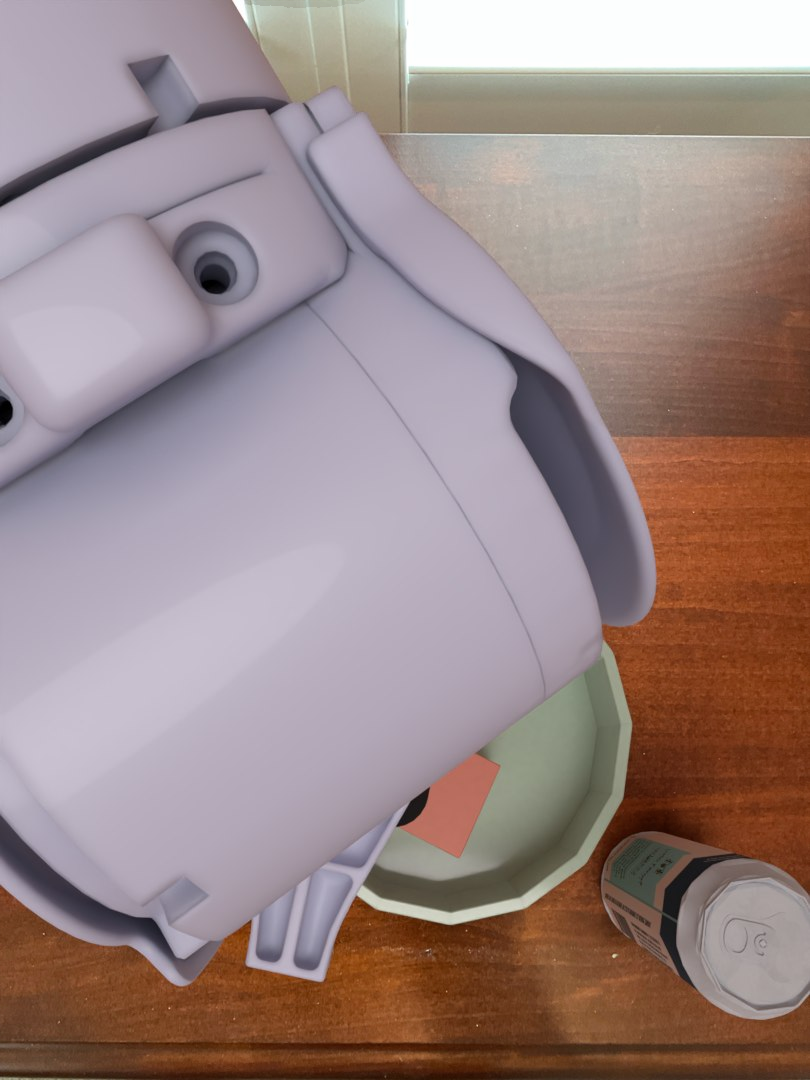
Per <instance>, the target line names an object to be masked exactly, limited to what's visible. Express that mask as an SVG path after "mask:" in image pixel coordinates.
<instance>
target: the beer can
mask: <svg viewBox="0 0 810 1080" xmlns="http://www.w3.org/2000/svg"><path fill="white" fill-rule="evenodd" d="M600 892H601V893H600V894H601V899H602V902H603V906H604V908H605V910H606V912H607V914H608V916H609V918H610V920H611V921H612V923H613V925H615V927H616V928H617V929H618V930H619V931H620V932H621V933H623V935H625V936H626V937H627V938H629V939H630V940H632V941H633V942H635V943H636V944H637V945H638V946H640V947H641V948H642V949H644V950H645V951H646V952H647V953H648V954H649V955H651V956H652V957H654V958H655V959H656V960H658V961H659V962H661V964H662V965H664V966H665V967H667V968H668V969H669V970H670V971H672V972H673V973H674V974H676V975H677V976H678V977H679V978H681V979H682V980H683V981H685V982H686V983H687V984H688V985H690V986H691V987H692V988H694V990H696V991H697V992H698V993H699V994H701V995H702V996H703V997H704V998H705V999H706V1000H707V1001H708V1002H709V1003H710V1004H712V1005H714V1006H715V1007H717V1008H718V1009H721V1010H722V1011H723V1012H724V1013H727V1014H729V1015H733V1016H735V1017H739V1018H742V1019H747V1020H757V1021H763V1020H769V1019H774V1018H778V1017H781V1016H784V1015H787V1014H789V1013H791V1012H792V1011H795V1010H796V1009H798V1008H799V1007H800V1006H801V1005H802V1003H803V1002H804V1001H806V999H807V998H808V997H809V995H810V894H809V893H808V892H807V891H806V890H805V889H804V887H803V886H802V885H801V884H800V883H799V882H798V880H796V879H795V878H794V877H793V876H791V875H790V874H789V873H788V872H786V871H784V870H783V869H782V868H779V867H777V866H776V865H775V864H772V863H768V862H766V861H763V860H760V859H757V858H753V857H749V856H747V855H743V854H739V853H735V852H732V851H728V850H725V849H722V848H718V847H715V846H711V845H708V844H705V843H702V842H701V843H700V842H697V841H693V840H690V839H686V838H683V837H680V836H677V835H673V834H669V833H666V832H662V831H653V830H651V831H641V832H638V833H634V834H631V835H629V836H627V837H626V838H624V839H622V840H621V841H620V842H619V843H618V844H617V845H616V846H615V847H614V848H613V849H611V851H610V853H609V855H608V856H607V858H606V860H605V862H604V865H603V869H602V872H601V880H600Z"/></svg>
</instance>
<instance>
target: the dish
mask: <svg viewBox="0 0 810 1080" xmlns="http://www.w3.org/2000/svg"><path fill="white" fill-rule="evenodd" d="M632 732H633V720H632V716H631V713H630V708H629V704H628V701H627V698H626V693H625V690H624V686H623V682H622V679H621V675H620V671H619V666H618V663H617V660H616V656H615V654H614V651H613V650H612V649H611V647H610V646H609V644H608V642H606V640H605V639H604V638H603V645H602V652H601V654H600V657H599V659H598V661H597V662H596V663H595V664H594V665H593V666H592V667H590V668H589V669H588V670H586V671H585V672H584V673H582V674H581V675H580V676H578V677H577V678H576V679H574V680H573V681H572V682H570V683H569V684H568V685H566V686H565V687H564V688H562V689H561V690H560V691H558V692H557V693H556V694H554V695H553V696H552V697H550V698H549V699H548V700H546V701H545V702H544V703H542V704H541V705H539V706H538V707H536V708H535V709H534V710H532V711H531V712H530V713H528V714H527V715H526V716H524V717H523V718H522V719H520V720H519V721H518V722H516V723H515V724H514V725H512V726H511V727H510V728H508V729H507V730H505V731H504V732H503V733H501V734H500V735H499V736H497V737H496V738H495V739H493V740H492V741H491V742H489V743H488V744H487V745H485V746H484V747H483V748H481V749H480V750H479V751H477V752H476V753H477V754H479V755H481V756H483V757H485V758H487V759H489V760H490V761H492V762H494V763H496V764H498V765H500V769H499V771H498V774H497V776H496V778H495V780H494V783H493V785H492V787H491V789H490V792H489V794H488V796H487V798H486V801H485V803H484V805H483V807H482V810H481V812H480V814H479V816H478V819H477V821H476V823H475V825H474V828H473V830H472V832H471V834H470V837H469V839H468V841H467V843H466V846H465V848H464V850H463V852H462V855H461V857H460V858H457V857H455V856H453V855H451V854H449V853H447V852H445V851H443V850H441V849H439V848H437V847H435V846H434V845H432V844H430V843H428V842H426V841H424V840H422V839H420V838H418V837H416V836H414V835H412V834H410V833H408V832H406V831H404V830H403V829H401V828H399V827H395V829H394V831H393V832H392V834H391V836H390V838H389V839H388V841H387V843H386V845H385V846H384V848H383V850H382V851H381V853H380V855H379V857H378V858H377V860H376V862H375V864H374V865H373V867H372V869H371V871H370V872H369V874H368V876H367V878H366V879H365V881H364V883H363V885H362V886H361V888H360V890H359V891H358V893H357V895H356V897H357V898H358V899H360V900H361V901H363V902H364V903H366V904H367V905H369V906H370V907H371V908H373V909H374V910H376V911H380V912H385V913H389V914H393V915H399V916H404V917H408V918H413V919H418V920H422V921H428V922H432V923H437V924H441V925H446V926H455V925H460V924H464V923H468V922H474V921H477V920H482V919H487V918H492V917H496V916H500V915H505V914H509V913H513V912H514V913H515V912H519V911H524V910H526V909H528V908H529V907H530V906H532V905H533V904H535V903H536V902H537V901H538V900H540V899H541V898H543V897H544V896H545V895H547V894H548V893H549V892H551V891H552V890H554V889H555V888H556V887H557V886H559V885H560V884H561V883H563V882H564V881H566V880H567V879H568V878H569V877H570V876H572V875H573V874H575V873H576V872H577V871H578V870H580V869H581V868H583V867H584V866H585V865H586V864H587V863H588V861H589V860H590V858H591V857H592V854H593V852H594V851H595V849H596V847H597V845H598V844H599V842H600V841H601V839H602V837H603V835H604V834H605V831H606V830H607V828H608V827H609V825H610V823H611V822H612V819H613V818H614V816H615V814H616V812H617V811H618V809H619V807H620V805H621V803H622V802H623V801H624V797H625V790H626V780H627V773H628V764H629V757H630V749H631V742H632Z"/></svg>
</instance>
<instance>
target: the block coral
mask: <svg viewBox="0 0 810 1080" xmlns="http://www.w3.org/2000/svg"><path fill="white" fill-rule="evenodd" d="M499 769H500V765H498V764H496V763H494V762H492V761H490V760H489V759H487V758H485V757H483V756H481V755H479V754H477V753H475V754H473V755H472V756H471V757H469V758H468V759H466V760H465V761H464V762H462V763H461V764H460V765H458V766H457V767H456V768H454V769H453V770H452V771H450V772H449V773H448V774H446V775H445V776H444V777H442V778H441V779H440V780H438V781H437V782H436V783H434V784H433V785H431V786H430V790H429V796H428V800H427V803H426V806H425V808H424V810H423V811H422V813H421V814H420V815H419V816H418V817H417V818H416V819H415V820H414V821H412V822H411V823H409V824H407V825H404V826H400V827H399V828H401V829H403V830H404V831H406V832H408V833H410V834H412V835H414V836H416V837H418V838H420V839H422V840H424V841H426V842H428V843H430V844H432V845H434V846H435V847H437V848H439V849H441V850H443V851H445V852H447V853H449V854H451V855H453V856H455V857H457V858H460V857H461V855H462V852H463V850H464V848H465V846H466V843H467V841H468V839H469V837H470V834H471V832H472V830H473V828H474V825H475V823H476V821H477V819H478V816H479V814H480V812H481V810H482V807H483V805H484V803H485V801H486V798H487V796H488V794H489V792H490V789H491V787H492V785H493V783H494V780H495V778H496V776H497V774H498V771H499Z"/></svg>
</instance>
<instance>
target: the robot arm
mask: <svg viewBox="0 0 810 1080" xmlns="http://www.w3.org/2000/svg"><path fill="white" fill-rule="evenodd" d="M288 93H289V92H287V90H286V88H285V87H284V85H283V83H282V81H281V80H280V77H278V75H277V73H276V72H275V70H274V68H273V67H272V65H271V63H270V61H269V60H268V58H267V57H266V55H265V53H264V51H263V50H262V47H261V46H260V45H259V42H258V41H257V39H256V38H255V36H254V34H253V32H252V31H251V29H250V27H249V26H248V24H247V22H246V21H245V19H244V18H243V16H242V14H241V12H240V11H239V9H238V8H237V6H236V4H235V2H234V1H233V0H0V886H1V887H2V888H3V889H4V890H5V891H7V893H9V894H10V895H11V896H13V897H14V898H15V899H16V900H17V901H19V903H21V904H22V905H23V906H24V907H25V908H27V909H28V910H29V911H31V912H33V914H35V915H37V916H38V917H39V918H41V919H42V920H43V921H45V922H47V923H48V924H50V925H52V926H53V927H55V928H56V929H58V930H59V931H62V932H64V933H66V934H68V935H70V936H72V937H74V938H76V939H79V940H81V941H84V942H86V943H90V944H94V945H98V946H105V947H121V946H128V947H130V948H133V949H134V950H136V951H138V953H140V954H141V955H142V956H143V957H145V958H146V960H148V961H149V962H150V963H151V965H153V966H154V968H156V970H157V971H158V972H159V973H161V975H162V976H164V977H165V979H166V980H168V982H169V983H171V984H173V985H175V986H177V987H185V986H188V985H190V984H192V983H193V982H194V981H195V980H196V979H197V978H198V977H199V976H200V974H201V973H202V972H203V971H204V970H205V968H207V966H208V965H209V963H210V962H211V960H212V959H213V958H214V956H215V955H216V953H217V952H218V950H219V949H220V947H221V946H222V943H223V942H224V940H225V939H226V938H228V937H229V936H231V935H232V934H234V933H236V932H237V931H238V930H239V929H241V928H242V927H244V925H246V924H247V923H248V922H250V921H251V926H250V934H249V939H248V945H247V951H246V956H245V962H244V963H245V966H246V967H248V968H251V969H252V968H253V969H258V970H262V971H267V972H271V973H275V974H280V975H285V976H290V977H294V978H299V979H304V980H308V981H313V982H317V983H323V982H324V981H325V979H326V977H327V973H328V970H329V967H330V964H331V961H332V957H333V952H334V947H335V941H336V939H337V936H338V934H339V930H340V929H341V926H342V923H343V921H344V920H345V918H346V917H347V914H348V912H349V909H350V908H351V905H352V904H353V902H354V900H355V899H356V897H357V896H356V895H357V893H358V891H359V890H360V888H361V886H362V885H363V883H364V881H365V879H366V878H367V876H368V874H369V872H370V871H371V869H372V867H373V865H374V864H375V862H376V860H377V858H378V857H379V855H380V853H381V851H382V850H383V848H384V846H385V845H386V843H387V841H388V839H389V838H390V836H391V834H392V832H393V831H394V829H395V827H400V826H404V825H407V824H409V823H411V822H412V821H414V820H415V819H416V818H417V817H418V816H419V815H420V814H421V813H422V811H423V810H424V808H425V806H426V803H427V800H428V796H429V790H430V786H431V785H433V784H434V783H436V782H437V781H438V780H440V779H441V778H442V777H444V776H445V775H446V774H448V773H449V772H450V771H452V770H453V769H454V768H456V767H457V766H458V765H460V764H461V763H462V762H464V761H465V760H466V759H468V758H469V757H471V756H472V755H473V754H475V753H476V752H477V751H479V750H480V749H481V748H483V747H484V746H485V745H487V744H488V743H489V742H491V741H492V740H493V739H495V738H496V737H497V736H499V735H500V734H501V733H503V732H504V731H505V730H507V729H508V728H510V727H511V726H512V725H514V724H515V723H516V722H518V721H519V720H520V719H522V718H523V717H524V716H526V715H527V714H528V713H530V712H531V711H532V710H534V709H535V708H536V707H538V706H539V705H541V704H542V703H544V702H545V701H546V700H548V699H549V698H550V697H552V696H553V695H554V694H556V693H557V692H558V691H560V690H561V689H562V688H564V687H565V686H566V685H568V684H569V683H570V682H572V681H573V680H574V679H576V678H577V677H578V676H580V675H581V674H582V673H584V672H585V671H586V670H588V669H589V668H590V667H592V666H593V665H594V664H595V663H596V662H597V661H598V659H599V657H600V654H601V652H602V645H603V639H604V633H603V632H604V631H603V625H605V626H610V627H615V628H617V627H618V628H622V627H623V628H624V627H630V626H634V625H636V624H638V623H640V622H641V621H642V620H644V619H645V617H646V616H647V615H648V614H649V612H650V611H651V609H652V608H653V605H654V601H655V597H656V592H657V584H658V583H657V581H658V580H657V578H658V577H657V563H656V557H655V549H654V545H653V540H652V536H651V532H650V529H649V525H648V522H647V518H646V514H645V511H644V509H643V506H642V503H641V499H640V498H639V494H638V492H637V489H636V486H635V484H634V481H633V479H632V477H631V475H630V472H629V470H628V468H627V465H626V463H625V461H624V459H623V457H622V455H621V452H620V451H619V448H618V446H617V444H616V442H615V440H614V438H613V436H612V435H611V433H610V430H609V429H608V427H607V425H606V423H605V421H604V419H603V418H602V415H601V413H600V411H599V409H598V407H597V405H596V402H595V400H594V397H593V396H592V394H591V392H590V389H589V387H588V385H587V382H586V380H585V379H584V376H583V375H582V372H581V371H580V368H579V367H578V365H577V364H576V362H575V360H574V359H573V358H572V356H571V355H570V353H569V352H568V350H567V349H566V346H564V344H563V343H562V341H561V340H560V338H559V337H558V336H557V335H556V333H555V331H554V330H553V329H552V327H551V326H550V325H549V323H548V322H547V320H545V318H544V317H543V316H542V314H541V312H539V310H538V309H537V307H535V305H534V303H533V302H532V301H531V300H530V299H529V297H528V296H527V295H526V294H525V293H524V291H523V290H522V289H521V288H520V286H519V285H518V284H517V283H516V282H515V281H514V280H513V278H511V276H510V275H509V274H508V273H507V272H506V271H505V270H504V268H503V267H502V266H501V265H500V264H499V263H498V262H497V260H496V259H494V258H493V256H492V255H491V254H490V253H489V252H488V251H487V250H486V249H485V248H484V247H483V246H482V245H481V244H480V243H479V241H477V240H476V239H475V238H474V237H473V236H472V235H471V234H470V233H469V232H468V231H467V230H465V229H464V228H463V227H462V226H461V225H460V224H459V223H458V222H457V221H455V220H454V219H453V218H452V217H451V216H449V214H447V213H446V212H444V210H442V209H440V208H439V207H438V206H437V205H435V204H434V203H433V202H432V201H431V200H430V199H428V198H427V197H426V196H425V195H424V194H423V193H422V191H420V189H419V188H417V186H416V185H415V184H414V183H413V182H412V181H411V180H410V178H409V176H407V175H406V174H405V172H404V170H403V169H402V168H401V167H400V165H399V164H398V163H397V161H396V159H395V158H394V157H393V154H391V152H390V150H389V149H388V148H387V146H386V144H385V143H384V141H383V139H382V137H381V136H380V134H379V132H378V131H377V129H376V127H375V125H374V123H373V121H372V120H371V118H370V117H369V115H368V114H367V112H366V111H359V112H357V111H356V110H355V108H354V107H353V105H352V104H351V102H350V100H349V98H348V97H347V95H346V94H345V93H344V91H343V90H342V88H341V87H339V86H337V85H331V86H330V87H328V88H326V89H324V90H322V91H320V92H319V93H318V94H316V95H314V96H312V97H310V99H306V100H305V101H304V102H301V101H293V99H291V97H290V95H289V94H288Z"/></svg>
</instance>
